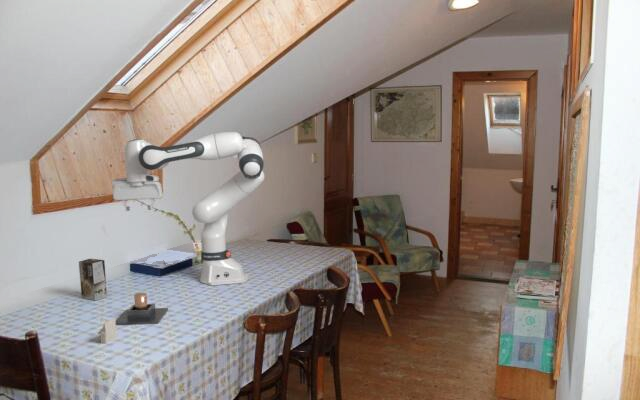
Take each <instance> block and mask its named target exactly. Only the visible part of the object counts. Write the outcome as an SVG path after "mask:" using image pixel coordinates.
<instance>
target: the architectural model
mask: <svg viewBox="0 0 640 400" xmlns="http://www.w3.org/2000/svg"><path fill="white" fill-rule="evenodd" d="M115 321H116V317H113V318H111V319H108V318H107V319H105V321H104V324H103V326H102V328H100V329H99V331H98V332H97V333H96V335H99V336H100V344H104V345H105V344H108V343H110V342H112V341H114V340H115V339H116V338H117V337H118V336H117V329H118V326H117V325H116V323H115Z"/></svg>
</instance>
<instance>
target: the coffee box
mask: <svg viewBox="0 0 640 400" xmlns="http://www.w3.org/2000/svg"><path fill="white" fill-rule="evenodd" d="M105 261H106V260H104V259H98V258H97V259H96V258H87V259H83V260H80V261H78V268H79V269H78V270H79V272H78V273H79V279H80V280H79V281H80V282H79V284H80V292H81V299H84V300H90V301H98V300H99V301H100V300H101V299H105V298H107V297H108V292H107V277H106V265H105Z"/></svg>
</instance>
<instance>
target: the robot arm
mask: <svg viewBox="0 0 640 400" xmlns="http://www.w3.org/2000/svg"><path fill="white" fill-rule="evenodd" d="M124 147H125V148H124V162H125V164H126V168H125V178H124V177H121V178H115V179H114V180H113V181H112V182H111V183H112V185H111V186H112V188H113V189H112V190H113V192H112V199H113V200H114V201H121V203H122V206H124V207H125V208H124V209H125V212H127V211H128V212H129V211H131V209H130V207H131V206H130V205H129V206H128V205H127V203H128V202H127V201H129V200H130V201H131V200H134V201H135V200H149V201H150V202H151V203H150V204H149V205H147V210H148V211H149V210H150V211H152V210H153V205H154V204H155V201H156V200H157V199H159V200H160V199H162V198H163V196H164V192H163V186H162V184H161V182H159V181H160V177H159V176H158V175H155V174H153V173H149V172H148V170H149V171H154V170H161V169H164V168H166V167H167V166H168V165H169V163H171V162H176V161H181V160H189V159H190V160H191V159H192V160H193V159H194V160H201V161H216V160H222V159H225V158H235V159H237V162H238V168H239V170H240V171H238V172H237V173H236V174H234V175H233V176H232V177H230V178H229V179H228V180H227V181H225V182H224V183H223V184H222V185H221V186H219V187H217V188H216V189H214V190H213V191H212V192H210V193H208V194H207V195H206V196H204V197H203V198H202V199H200V200H199V201H198V202H196V203H195V204H194V205H193V207H192V211H191V212H192V213H191V214H192V217H193V219H194V220H195V221H197V222H198V223H200V224H204V225H203V229H202V232H201V234H200V238H201V240H200V241H201V251H200V262H201V274H200V277H199V282H200V283H202V284H206V285H209V286H221V285H234V284H235V285H236V284H243V283H247V282H248V281H249V279H250V277H249V275H248V274H247V273H244V268H243V265H242V264H241V263H239V261H237V260H235V259H234V258H232V255H231V253H232V252H231V250H228V249H227V246H226V245H227V243H226V242H227V240H226V239H227V238H226V237H227V236H226V234H227V233H226V230H227V225H228V218H229V214H230V211H231V209H232V208H234V207H236V206H238V204H240V203H241V202H243V201H244V200H245V199H246V198H248V196H249V195H251V194H252V193H254V192H255V191H256V190H257V189H258V188H259V186H260V185H262V183H263V182H264V180H265V173H264V164H265V162H264V154H263V151H262V146H261V144H260V142H259V140H257V139H256V138H254V137H250V136H242V135H241V134H240V133H238V131H237V132H236V131H221V132H215V133H211V134H207V135H204V136H201V137H198V138H195V139H194V140H191V141H189V142H186V143H185V142H184V143H180V144H175V145H169V146H158V145H155V144H152V143H150V142H148V141H146V140H145V139H143V138H138V139H132V140H128V141H127V142H126V144H125V146H124Z"/></svg>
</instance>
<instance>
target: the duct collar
mask: <svg viewBox="0 0 640 400" xmlns="http://www.w3.org/2000/svg"><path fill="white" fill-rule="evenodd" d="M147 307H148V310H135V304H132V305H131V306H130V307H129V308H128V309H126V310H125V311H124V312H123V313H122V314H120V316H119V317H118V318H117V319H115V323H116V326H129V325H130V326H132V325H154V324H155V325H159V323H160V322H161V321H162V319H163V317H164V316H165V315H166V314H167V313H168V311H169V308H168V307H158V308H156V303H147Z"/></svg>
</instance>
